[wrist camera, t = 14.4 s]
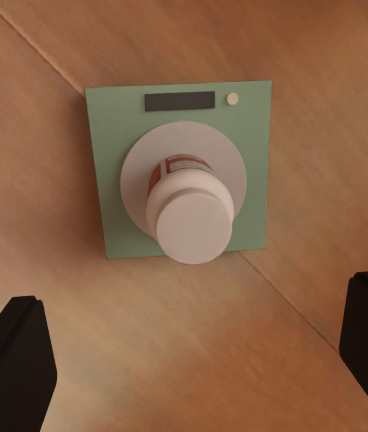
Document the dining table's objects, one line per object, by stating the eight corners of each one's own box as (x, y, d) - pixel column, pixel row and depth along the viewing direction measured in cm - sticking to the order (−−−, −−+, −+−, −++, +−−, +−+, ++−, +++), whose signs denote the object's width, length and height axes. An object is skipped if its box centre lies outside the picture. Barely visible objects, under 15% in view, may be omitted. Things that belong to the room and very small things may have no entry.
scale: (110, 249, 36) (105, 263, 33) (89, 88, 30) (81, 87, 27) (258, 239, 36) (267, 252, 33) (264, 81, 31) (275, 79, 28)
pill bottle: (175, 230, 32) (183, 294, 22) (134, 180, 30) (120, 223, 20) (229, 192, 31) (264, 239, 21) (190, 137, 29) (206, 159, 19)
